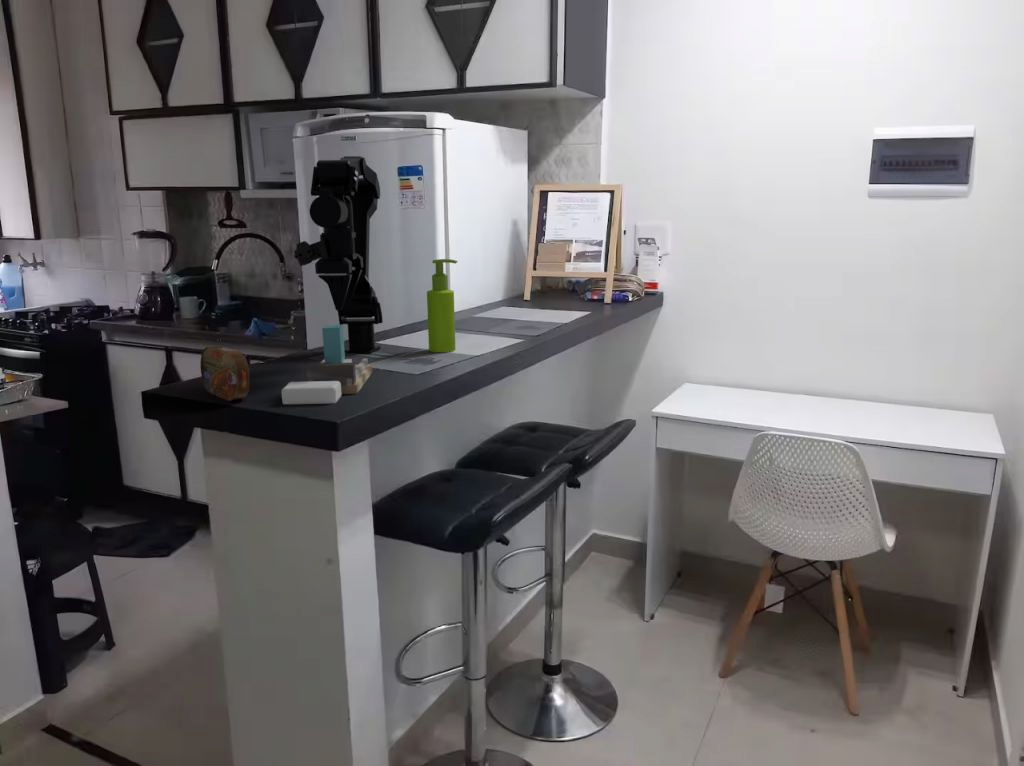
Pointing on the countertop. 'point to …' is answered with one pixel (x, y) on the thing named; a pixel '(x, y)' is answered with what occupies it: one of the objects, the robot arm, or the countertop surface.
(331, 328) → the sliding block
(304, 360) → the countertop surface
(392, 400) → the countertop surface
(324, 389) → the soap
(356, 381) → the guide rail
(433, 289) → the soap dispenser
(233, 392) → the tin
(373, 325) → the robot arm
